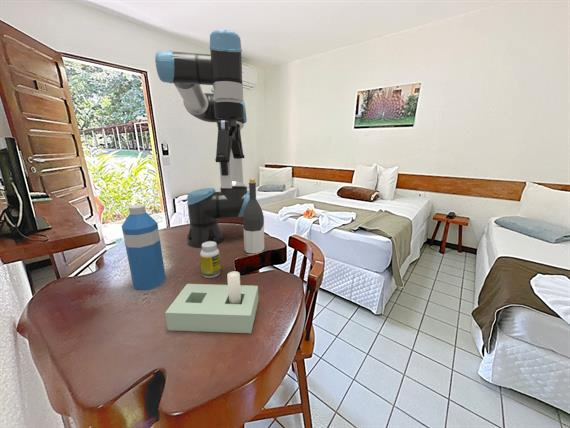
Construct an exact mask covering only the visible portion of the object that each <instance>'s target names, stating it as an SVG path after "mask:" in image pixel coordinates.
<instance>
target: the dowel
mask: <svg viewBox="0 0 570 428" xmlns="http://www.w3.org/2000/svg"><path fill="white" fill-rule="evenodd" d="M226 279H227V285H228V293H229V304H241V289H240V285H241V274H240V272H239V271H235V270H234V271H230V272H228V273H227V277H226Z"/></svg>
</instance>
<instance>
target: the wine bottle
mask: <svg viewBox="0 0 570 428" xmlns="http://www.w3.org/2000/svg"><path fill="white" fill-rule="evenodd" d="M256 188H257V183H256V179H255V178H249V183H248V189H249V195H250V199H249V201H248V203H247V205H246V207H245V210H244V214H243V217H242V224H243V225H242V226H243V247H244V249H243V251H244V254H245V253H246V254H256V253H260V252H262V251H264V252H265V216H264V212H263V209H262V207H261V205H260V203H259V202H258V200H257V190H256ZM246 254H245V255H246Z"/></svg>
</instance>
